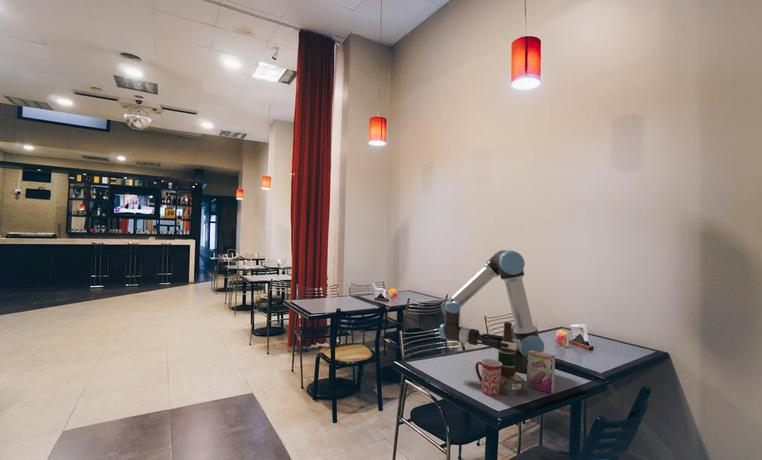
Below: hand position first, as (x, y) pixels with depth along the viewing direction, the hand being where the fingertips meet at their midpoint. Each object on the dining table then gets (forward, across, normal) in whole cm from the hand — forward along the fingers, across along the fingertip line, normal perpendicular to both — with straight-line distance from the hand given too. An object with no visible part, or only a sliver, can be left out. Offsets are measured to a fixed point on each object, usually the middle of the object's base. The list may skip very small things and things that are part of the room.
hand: (518, 345), depth 162 cm
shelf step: (-3, 0, -20) cm, 20 cm away
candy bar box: (+9, -8, -20) cm, 23 cm away
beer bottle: (-5, 0, -15) cm, 15 cm away
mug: (-10, +11, -20) cm, 25 cm away
